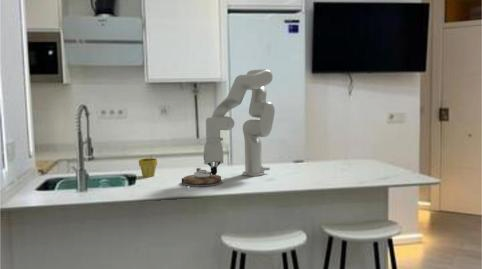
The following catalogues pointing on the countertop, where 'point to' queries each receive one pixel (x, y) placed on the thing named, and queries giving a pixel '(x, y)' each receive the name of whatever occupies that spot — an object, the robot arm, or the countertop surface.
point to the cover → (202, 174)
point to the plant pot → (148, 166)
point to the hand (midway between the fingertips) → (214, 174)
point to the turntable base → (202, 185)
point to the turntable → (192, 180)
